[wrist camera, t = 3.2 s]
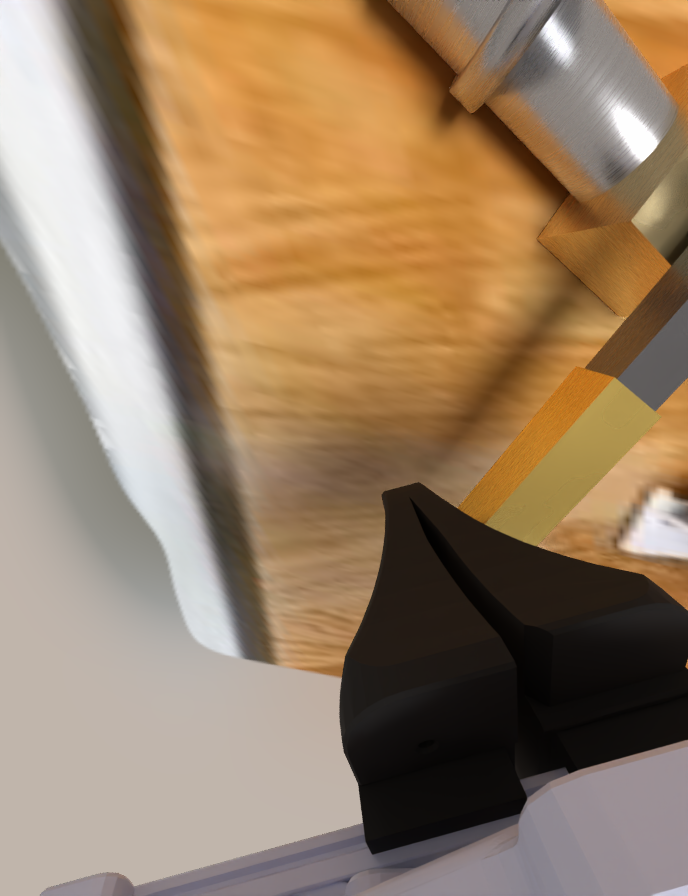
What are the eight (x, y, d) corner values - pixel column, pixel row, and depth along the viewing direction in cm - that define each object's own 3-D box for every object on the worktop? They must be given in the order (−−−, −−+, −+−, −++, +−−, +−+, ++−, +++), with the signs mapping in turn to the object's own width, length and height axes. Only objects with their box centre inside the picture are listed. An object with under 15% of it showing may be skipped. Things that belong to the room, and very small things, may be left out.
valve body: (722, 413, 17) (843, 450, 13) (340, 53, 10) (366, -84, 6) (817, 320, 16) (984, 332, 12) (447, -175, 9) (563, -532, 5)
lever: (501, 540, 13) (530, 576, 12) (441, 509, 12) (463, 544, 11) (846, 167, 9) (963, 141, 8) (796, 77, 8) (917, 26, 7)
